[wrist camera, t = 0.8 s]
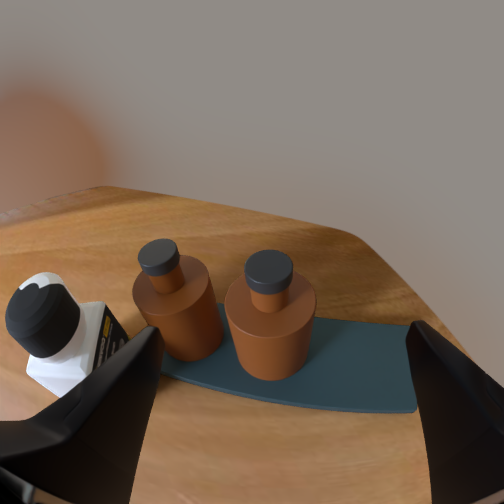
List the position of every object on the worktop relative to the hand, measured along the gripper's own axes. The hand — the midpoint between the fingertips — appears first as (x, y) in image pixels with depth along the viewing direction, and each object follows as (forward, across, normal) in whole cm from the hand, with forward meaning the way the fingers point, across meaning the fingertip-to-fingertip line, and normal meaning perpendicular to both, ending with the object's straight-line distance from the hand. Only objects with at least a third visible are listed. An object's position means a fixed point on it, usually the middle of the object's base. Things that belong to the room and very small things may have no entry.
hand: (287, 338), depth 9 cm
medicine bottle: (+5, +17, +13) cm, 22 cm away
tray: (+9, 0, +12) cm, 15 cm away
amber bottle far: (+10, +8, +11) cm, 17 cm away
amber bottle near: (+9, +1, +11) cm, 15 cm away
